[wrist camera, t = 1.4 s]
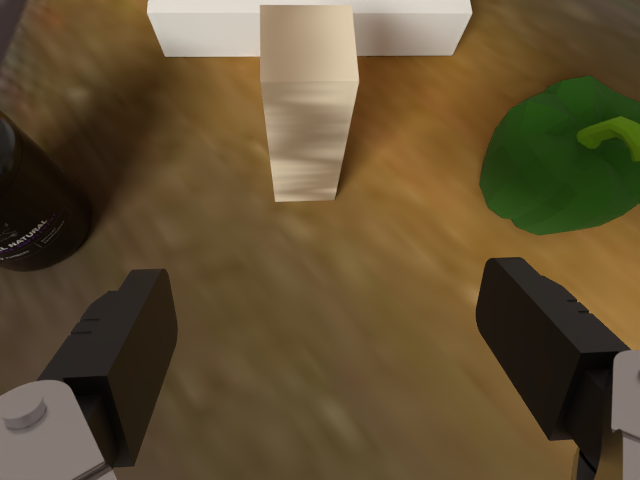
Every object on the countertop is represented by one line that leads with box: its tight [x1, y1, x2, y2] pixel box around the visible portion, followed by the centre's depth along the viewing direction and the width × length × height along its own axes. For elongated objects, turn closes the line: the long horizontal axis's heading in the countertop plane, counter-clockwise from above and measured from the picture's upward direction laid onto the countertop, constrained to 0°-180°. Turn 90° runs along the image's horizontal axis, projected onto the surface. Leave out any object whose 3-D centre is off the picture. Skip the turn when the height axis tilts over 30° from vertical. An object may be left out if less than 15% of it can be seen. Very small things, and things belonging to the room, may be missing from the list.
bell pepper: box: [479, 75, 640, 235], centre depth 25 cm, size 8×8×10 cm
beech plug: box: [260, 5, 359, 202], centre depth 23 cm, size 4×4×12 cm
